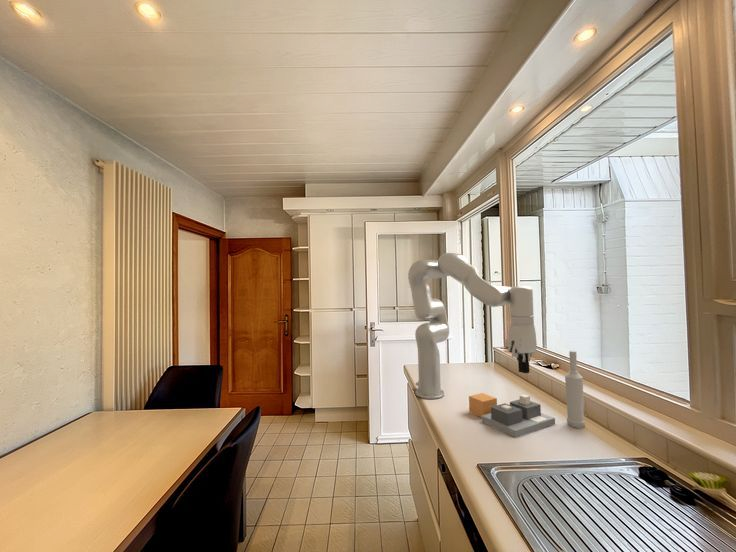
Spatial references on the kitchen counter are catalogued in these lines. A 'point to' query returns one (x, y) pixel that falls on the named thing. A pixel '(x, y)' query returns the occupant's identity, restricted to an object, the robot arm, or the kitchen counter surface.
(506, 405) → the toggle near
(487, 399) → the orange cube-like block
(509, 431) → the panel
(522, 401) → the toggle far
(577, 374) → the bottle
